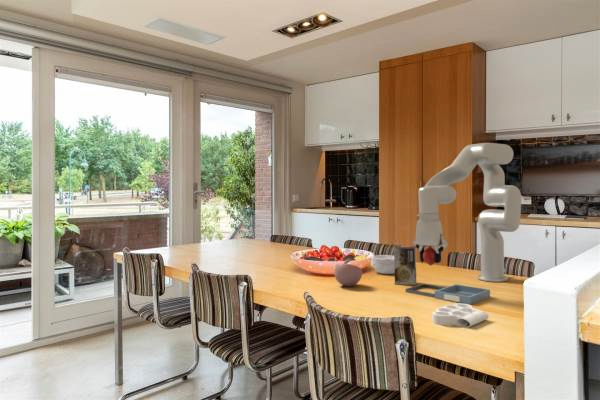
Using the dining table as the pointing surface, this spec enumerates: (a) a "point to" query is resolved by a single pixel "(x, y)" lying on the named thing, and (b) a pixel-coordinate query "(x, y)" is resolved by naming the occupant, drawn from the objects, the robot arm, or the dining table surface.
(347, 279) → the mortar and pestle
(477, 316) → the white multi-well holder
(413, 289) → the bracket
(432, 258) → the onion
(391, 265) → the paper bowls
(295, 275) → the dining table surface
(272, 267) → the dining table surface
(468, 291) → the tray
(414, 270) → the coffee box
